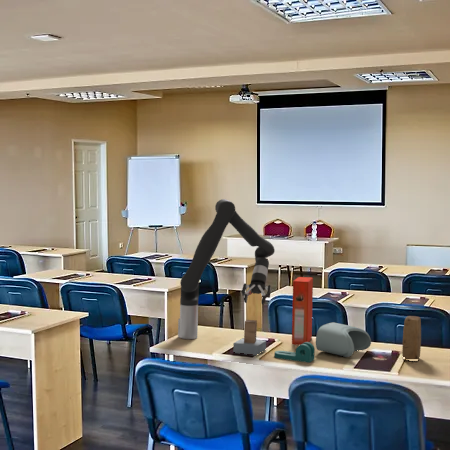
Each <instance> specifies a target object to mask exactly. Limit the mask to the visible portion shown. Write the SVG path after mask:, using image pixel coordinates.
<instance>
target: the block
mask: <svg viewBox="0 0 450 450" xmlns="http://www.w3.org/2000/svg"><path fill="white" fill-rule="evenodd" d="M421 321H422V320H421V317H420V316H416V315H407V316H406V317H405V319H404V322H403V323H404V324H403V333H402V349H401V350H402V352H401V353H402V356H403V357H405V358H406V359H419V360H420V358H421V348H422V347H421V346H422V322H421ZM402 356H401V357H402ZM403 357H402V358H403ZM419 357H420V358H419Z"/></svg>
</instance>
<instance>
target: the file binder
mask: <svg viewBox="0 0 450 450" xmlns="http://www.w3.org/2000/svg"><path fill="white" fill-rule="evenodd" d="M313 287H314V278H313V277H309V276H308V277H305V276H298V277H297V278H295V279H294V280H293V281H292V309H291V310H292V313H291V314H292V316H291V319H292V321H291V322H292V323H291V345H297V346H299V345H301V344H303V343H304V342H310V341H311V340H312V334H313V332H312V331H313V295H314V293H313V292H314V289H313Z"/></svg>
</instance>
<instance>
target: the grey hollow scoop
mask: <svg viewBox="0 0 450 450" xmlns="http://www.w3.org/2000/svg"><path fill="white" fill-rule="evenodd" d="M315 337H316V338H315V349H316V350H318V351H320V352H325V353H329V354H333V355H337V356H340V357H342V356H343V357H344V358H350V357H352V356H353V354H354V353H355V352H354V351H356V352H358V351H357V350H362V351H365V350H368V349H369V348H370V346H372V345H371V344H372V339H371V337H370V335H369V333H368V332H367V331H366V330H364V329H362V328H359V327H356V326H351V325H348V324H343V323H337V322H334V321H333V322H329V323H326V324H323V325H321V326H320V327H319V328H318V330H317V332H316V336H315Z"/></svg>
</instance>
